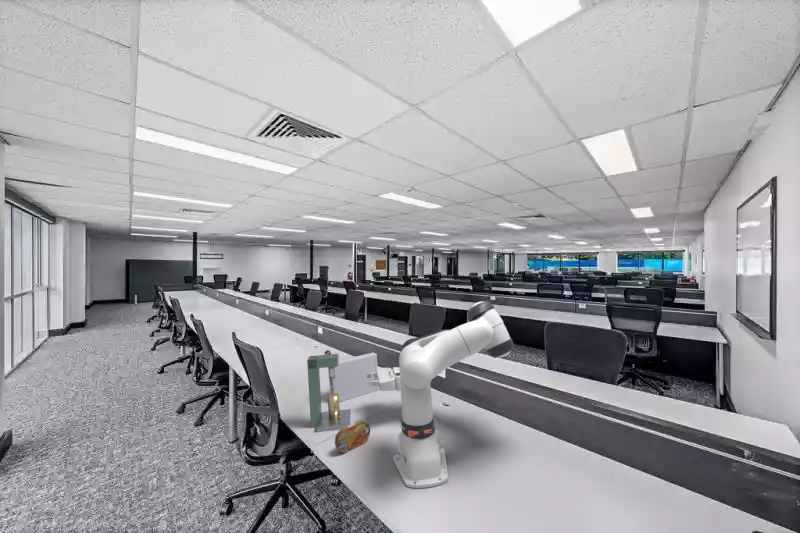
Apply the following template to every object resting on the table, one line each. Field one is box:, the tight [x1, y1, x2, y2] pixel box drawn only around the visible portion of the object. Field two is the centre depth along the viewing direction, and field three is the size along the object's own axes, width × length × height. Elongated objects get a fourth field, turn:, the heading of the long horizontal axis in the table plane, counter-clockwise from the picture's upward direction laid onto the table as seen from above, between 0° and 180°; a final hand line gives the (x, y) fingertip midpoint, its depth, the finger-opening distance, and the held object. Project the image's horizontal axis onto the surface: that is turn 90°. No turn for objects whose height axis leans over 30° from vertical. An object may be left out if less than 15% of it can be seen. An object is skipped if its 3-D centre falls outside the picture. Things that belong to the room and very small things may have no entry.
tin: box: [334, 420, 371, 454], centre depth 120 cm, size 15×3×8 cm, turn 132°
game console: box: [328, 352, 379, 403], centre depth 169 cm, size 6×27×20 cm, turn 124°
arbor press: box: [306, 350, 352, 433], centre depth 143 cm, size 21×17×30 cm
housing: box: [327, 393, 341, 420], centre depth 140 cm, size 5×5×10 cm
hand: (367, 379), depth 141 cm, fingers open, 8 cm apart
